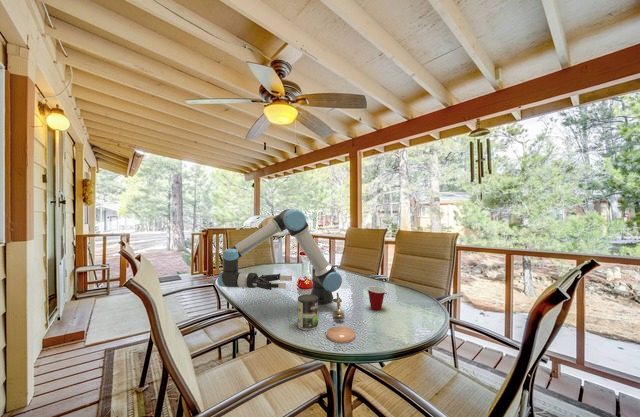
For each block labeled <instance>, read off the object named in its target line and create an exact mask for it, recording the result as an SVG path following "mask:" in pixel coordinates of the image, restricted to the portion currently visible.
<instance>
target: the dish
mask: <svg viewBox="0 0 640 417" xmlns="http://www.w3.org/2000/svg"><path fill="white" fill-rule="evenodd" d="M326 339H328V340H329V341H330V342H333V343H337V344H346V343H351V342H353V341H354V340H355V339H356V331H355V330H354V329H352V328H350V327H348V326H343V325H342V326H341V325H340V326H332V327H329V328H328V329H327V331H326Z"/></svg>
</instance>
